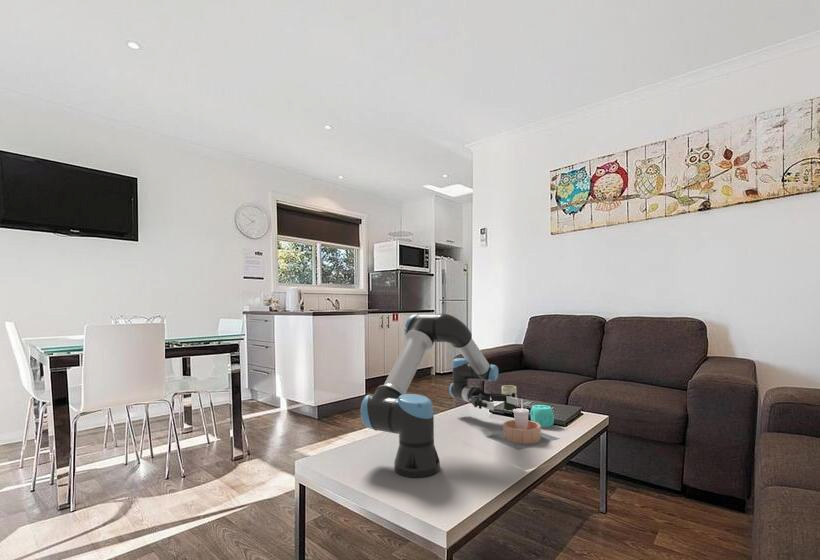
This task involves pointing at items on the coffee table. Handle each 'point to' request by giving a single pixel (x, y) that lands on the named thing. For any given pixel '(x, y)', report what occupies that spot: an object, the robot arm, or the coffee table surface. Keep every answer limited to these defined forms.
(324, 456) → the coffee table surface
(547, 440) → the mat
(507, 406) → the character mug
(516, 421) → the smoothie
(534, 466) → the coffee table surface
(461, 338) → the robot arm
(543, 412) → the decorative dice
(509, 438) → the bowl
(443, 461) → the coffee table surface
